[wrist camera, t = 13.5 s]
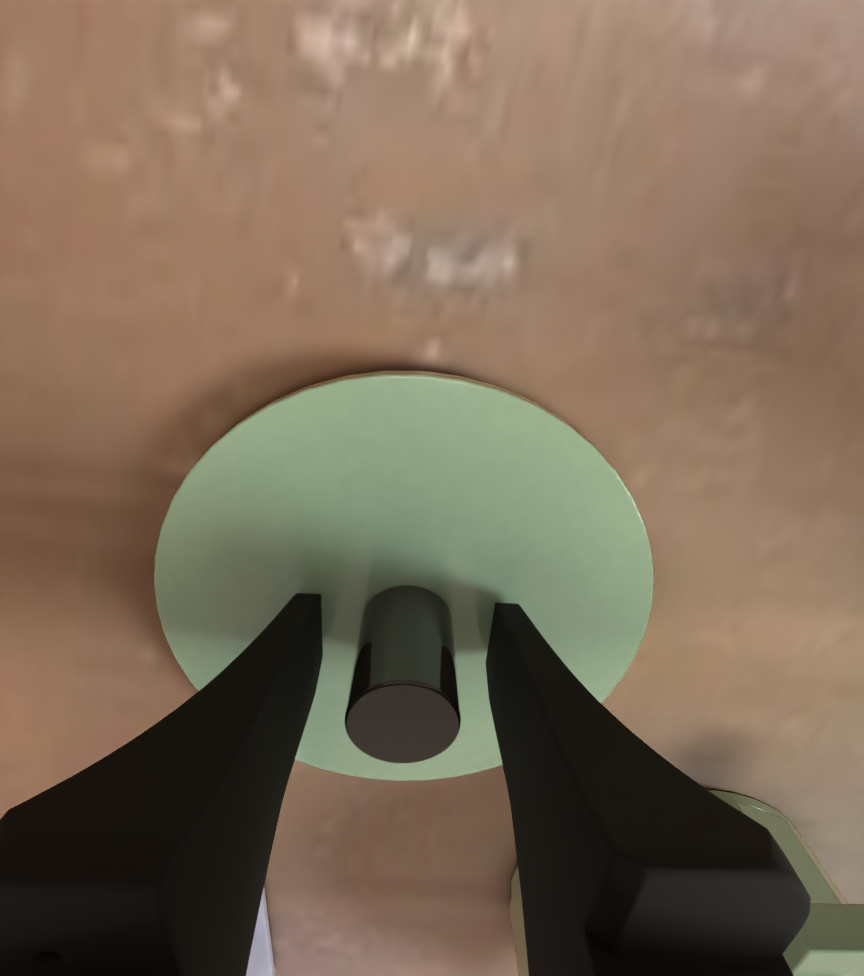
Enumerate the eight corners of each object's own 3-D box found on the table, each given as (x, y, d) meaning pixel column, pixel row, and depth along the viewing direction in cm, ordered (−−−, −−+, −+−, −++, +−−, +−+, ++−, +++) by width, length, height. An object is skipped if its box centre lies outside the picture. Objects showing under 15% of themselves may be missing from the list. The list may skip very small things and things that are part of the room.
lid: (204, 744, 16) (134, 897, 12) (133, 344, 11) (-34, 387, 7) (584, 756, 17) (634, 905, 13) (697, 384, 11) (842, 445, 7)
